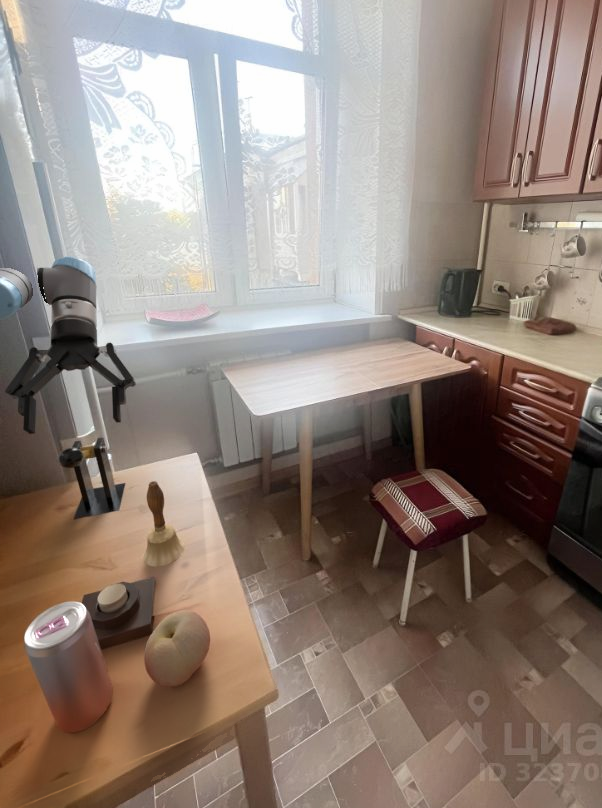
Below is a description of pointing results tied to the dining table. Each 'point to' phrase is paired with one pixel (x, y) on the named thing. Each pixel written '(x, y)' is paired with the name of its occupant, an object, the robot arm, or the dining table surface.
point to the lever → (75, 456)
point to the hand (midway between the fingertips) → (74, 425)
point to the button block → (124, 614)
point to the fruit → (176, 648)
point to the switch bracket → (100, 497)
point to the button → (112, 598)
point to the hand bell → (160, 532)
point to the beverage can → (69, 665)
